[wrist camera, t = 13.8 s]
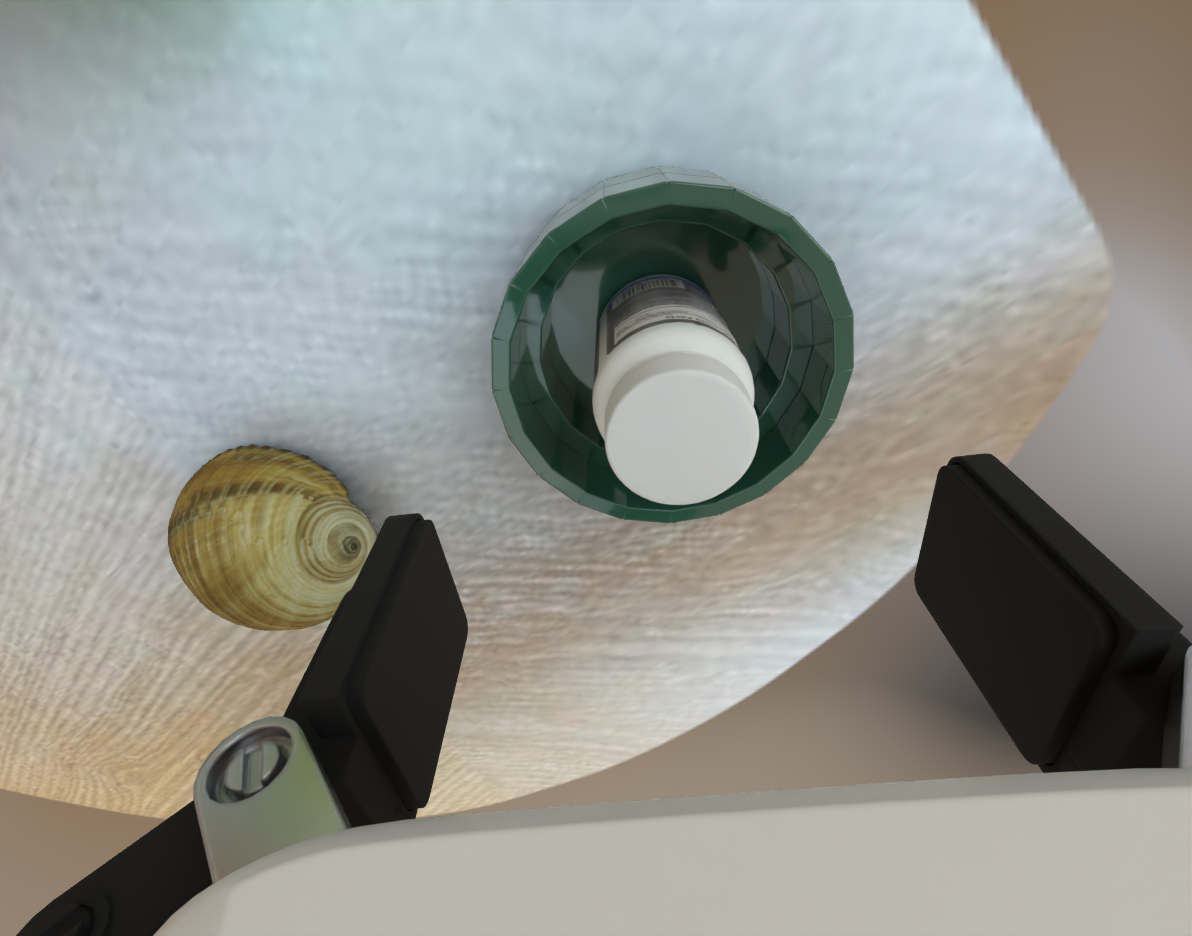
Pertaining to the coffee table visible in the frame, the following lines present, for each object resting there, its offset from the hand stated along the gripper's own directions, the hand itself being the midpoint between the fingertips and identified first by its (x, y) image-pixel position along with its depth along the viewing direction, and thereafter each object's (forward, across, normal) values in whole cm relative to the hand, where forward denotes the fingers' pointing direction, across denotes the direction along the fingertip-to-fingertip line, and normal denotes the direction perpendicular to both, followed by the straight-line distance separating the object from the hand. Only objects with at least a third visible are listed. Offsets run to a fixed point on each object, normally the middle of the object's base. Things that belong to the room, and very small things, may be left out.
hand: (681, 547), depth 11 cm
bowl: (+13, -1, 0) cm, 13 cm away
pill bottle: (+13, -1, 0) cm, 13 cm away
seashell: (+14, +17, +8) cm, 23 cm away
